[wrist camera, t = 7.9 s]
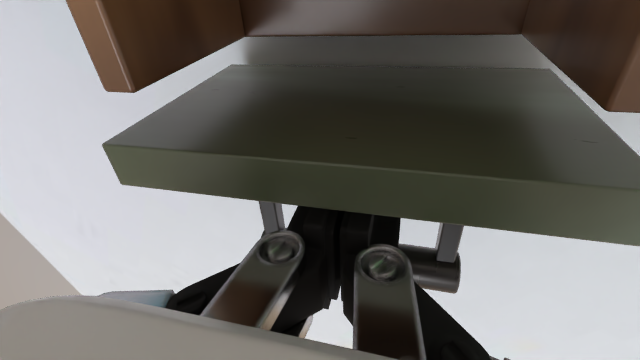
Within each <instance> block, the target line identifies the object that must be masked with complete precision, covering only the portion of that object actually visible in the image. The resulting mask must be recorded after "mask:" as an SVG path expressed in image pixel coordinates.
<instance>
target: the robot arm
mask: <svg viewBox="0 0 640 360" xmlns="http://www.w3.org/2000/svg"><path fill="white" fill-rule="evenodd" d="M400 219H401V218H398V217H390V216H381V215H373V214H364V213H356V212H348V211H339V210H331V209H323V208H314V207H306V206H298V207H297V209H296V211H295V213H294V215H293V217H292V219H291V221H290V224H289V226H288V228H287V230H279V231H274V232H271V233H268V234H266V235H265V236H263V237H262V238H261V239H260V240H259V241H258V242H257V243H256V244H255V245H254V247H253V248H252V249H251V250H250V252H249V253H248V254H247V256H246V257H245V258H244V259H243V261H242V262H241V263H239V264H237V265H235V266H233V267H230V268H228V269H226V270H224V271H221V272H219V273H217V274H215V275H212V276H210V277H208V278H206V279H204V280H201V281H199V282H197V283H195V284H192V285H190V286H188V287H186V288H184V289H183V290H181V291H179V292H178V293H177V294H175V293H174V291H173V290H150V291H115V292H108V293H103V294H101V295H99V296H84V295H69V296H53V297H46V298H40V299H34V300H29V301H25V302H21V303H18V304H15V305H11V306H9V307H6V308H4V309H2V310H0V360H499V359H496V358H494V357H491V356H489V354H488V353H487V352H486V351H485V349H484V348H483V347H482V346H481V345H480V344H479V343H478V342H477V341H476V340H475V339H474V338H473V337H472V336H471V335H470V334H469V333H468V332H467V331H466V330H465V329H464V328H463V327H462V326H461V325H460V324H459V323H457V322H456V321H455V320H454V319H453V318H452V317H451V316H450V315H449V314H448V313H447V312H446V311H445V310H444V309H443V308H442V307H441V306H440V305H439V304H438V303H437V302H436V301H435V300H434V299H433V298H431V297H430V296H429V295H428V294H427V293H426V292H425V291H424V290H423V289H422V288H421V287H420V286H419V285H418V284H417V283H416V282H415V281H414V279H413V273H412V266H411V263H410V260H409V258H408V257H407V256H406V254H405V253H404V252H403V251H401V250H400V249H398V243H399V231H400ZM340 286H341V300H342V301H343V313H344V315H345V316H346V317H347V319H348V320H349V321H350V323H351V324H352V325H353V349H349V348H345V347H340V346H336V345H331V344H327V343H322V342H318V341H313V340H309V339H304V338H305V336H306V334H307V332H308V330H309V327H310V325H311V323H312V319H313V314H315V313H316V312H318V311H320V310H322V309H323V308H324V309H329V305H330V302H331V299H334V300H337V298H338V294H339V290H340ZM504 360H510V359H508V358H504Z"/></svg>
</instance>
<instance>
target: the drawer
mask: <svg viewBox="0 0 640 360" xmlns="http://www.w3.org/2000/svg"><path fill="white" fill-rule="evenodd" d="M66 2H67V4H68V7H69V9H70V11H71V14H72V16H73V18H74V21H75V23H76V25H77V27H78V30H79V32H80V34H81V37H82V39H83V41H84V43H85V46H86V48H87V50H88V53H89V55H90V57H91V60H92V62H93V64H94V66H95V69H96V71H97V73H98V76H99V78H100V80H101V82H102V85H103V87H104V89H105V90H106V91H108V92H127V93H135V92H137V91H139V90H141V89H143V88H145V87H147V86H149V85H151V84H153V83H155V82H157V81H159V80H161V79H162V78H164V77H166V76H168V75H170V74H172V73H174V72H176V71H178V70H180V69H182V68H184V67H186V66H188V65H190V64H192V63H194V62H196V61H198V60H200V59H202V58H204V57H206V56H208V55H210V54H212V53H214V52H216V51H218V50H220V49H222V48H224V47H226V46H228V45H230V44H232V43H234V42H236V41H238V40H240V39H242V38H243V37H286V36H403V35H519V34H522V35H523V36H524V37H525V38H526V39H527V40H528V41H529V42H530V43H531V44H533V45H534V46H535V47H536V48H537V49H538V50H539V51H540V52H541V53H542V54H544V55H545V56H546V57H547V58H548V59H549V60H550V61H551V62H552V63H554V64H555V65H556V66H557V67H558V68H559V69H560V70H561V71H562V72H563V73H565V74H566V75H567V76H568V77H569V78H570V79H571V80H572V81H573V82H574V83H576V84H577V85H578V86H579V87H580V88H581V89H582V90H583V91H584V92H586V93H587V94H588V95H589V96H590V97H591V98H592V99H593V100H594V101H595V102H597V103H598V104H599V105H600V106H601V107H602V108H603V109H604V110H606V111H609V112H633V113H640V0H66ZM102 146H103V148H104V150H105V152H106V154H107V156H108V158H109V160H110V163H111V165H112V167H113V169H114V171H115V173H116V175H117V177H118V179H119V181H120V183H121V184H122V185H130V186H138V187H147V188H155V189H163V190H172V191H180V192H188V193H197V194H205V195H214V196H222V197H230V198H239V199H247V200H256V201H259V205H260V209H261V214H262V219H263V224H264V229H265V230H264V231H263V234H262V236H261V238H262V237H263V236H265V235H266V234H268V233H271V232H274V231H279V230H287V228H285V224H284V218H283V211H282V205H281V204H289V205H297V206H306V207H314V208H323V209H331V210H339V211H348V212H356V213H364V214H373V215H381V216H390V217H398V218H406V219H415V220H423V221H431V222H440V226H439V231H438V236H437V242H436V247H435V248H429V247H421V246H414V245H407V244H399V243H398V249H400V250H401V251H403V252H404V253H405V254H406V256H407V257H408V258H409V260H410V263H411V266H412V273H413V279H414V281H415V282H416V283H417V284H418V285H419V286H420V287H421V288H424V289H430V290H436V291H442V292H448V293H456V292H457V290H458V287H459V282H460V273H461V262H460V256H459V253H458V252H457V251H458V247H459V243H460V239H461V235H462V231H463V228H464V225H465V226H473V227H482V228H490V229H498V230H507V231H515V232H524V233H532V234H540V235H549V236H557V237H566V238H574V239H582V240H591V241H599V242H607V243H616V244H624V245H633V246H640V156H639V155H638V154H637V153H636V152H635V151H634V150H633V149H632V148H630V147H629V146H628V145H627V144H626V143H625V142H624V141H623V140H622V139H621V138H620V137H619V136H618V135H617V134H616V133H615V132H614V131H613V130H612V129H611V128H610V127H609V126H608V125H607V124H606V123H605V122H604V121H603V120H602V119H601V118H600V117H599V116H598V115H597V114H596V113H595V112H594V111H593V110H592V109H590V108H589V107H588V106H587V105H586V104H585V103H584V102H583V101H582V100H581V99H580V98H579V97H578V96H577V95H576V94H575V93H574V92H573V91H572V90H571V89H570V88H569V87H568V86H567V85H566V84H565V83H564V82H563V81H562V80H561V79H560V78H559V77H558V76H557V75H556V74H555V73H554V72H553V71H552V70H550V69H531V68H457V67H382V66H307V65H230V66H228V67H227V68H225V69H223V70H222V71H220V72H219V73H217V74H215V75H214V76H212V77H210V78H209V79H207V80H206V81H204V82H202V83H201V84H199V85H197V86H196V87H194V88H192V89H191V90H189V91H188V92H186V93H184V94H183V95H181V96H179V97H178V98H176V99H175V100H173V101H171V102H170V103H168V104H166V105H165V106H163V107H162V108H160V109H158V110H157V111H155V112H153V113H152V114H150V115H149V116H147V117H145V118H144V119H142V120H140V121H139V122H137V123H136V124H134V125H132V126H131V127H129V128H127V129H126V130H124V131H123V132H121V133H119V134H118V135H116V136H114V137H113V138H111V139H110V140H108V141H106V142H105V143H103V144H102Z"/></svg>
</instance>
